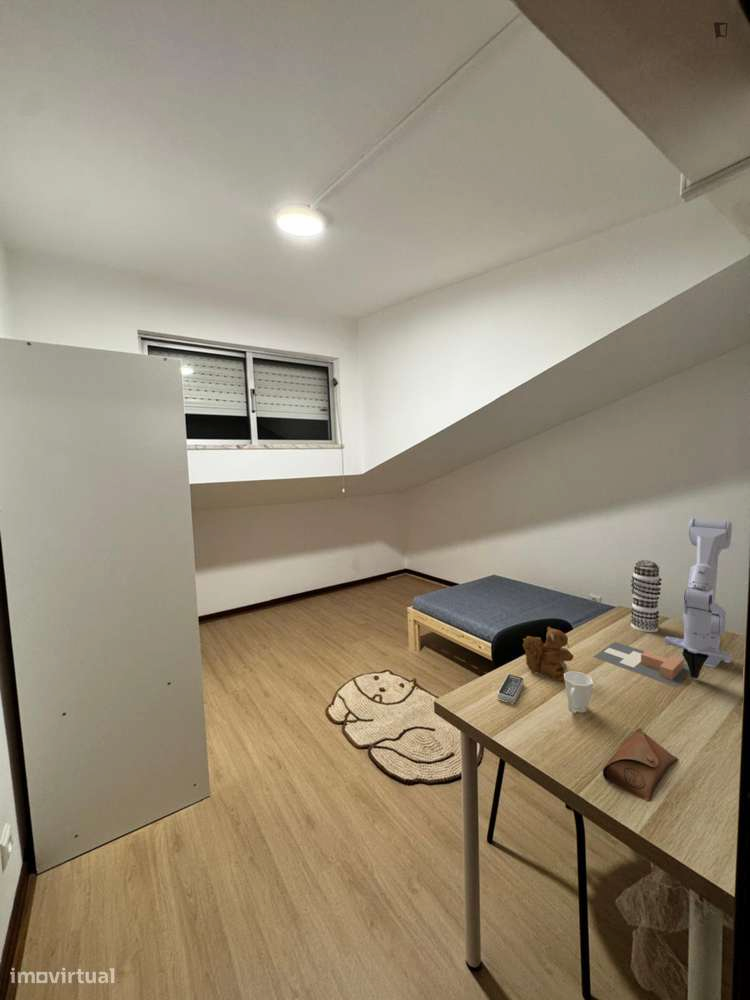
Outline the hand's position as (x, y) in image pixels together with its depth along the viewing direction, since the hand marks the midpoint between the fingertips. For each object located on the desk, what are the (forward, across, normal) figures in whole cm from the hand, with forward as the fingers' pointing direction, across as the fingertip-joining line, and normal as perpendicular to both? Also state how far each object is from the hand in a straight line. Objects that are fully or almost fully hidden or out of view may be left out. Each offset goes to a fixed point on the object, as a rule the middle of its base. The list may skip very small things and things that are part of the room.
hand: (694, 676), depth 111 cm
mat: (+1, -13, 0) cm, 13 cm away
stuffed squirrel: (+2, -30, -26) cm, 39 cm away
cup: (+2, -15, -38) cm, 41 cm away
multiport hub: (+2, -30, -44) cm, 53 cm away
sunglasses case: (+2, +2, -46) cm, 46 cm away
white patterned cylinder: (+2, -22, +29) cm, 37 cm away
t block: (+1, -8, 0) cm, 8 cm away
